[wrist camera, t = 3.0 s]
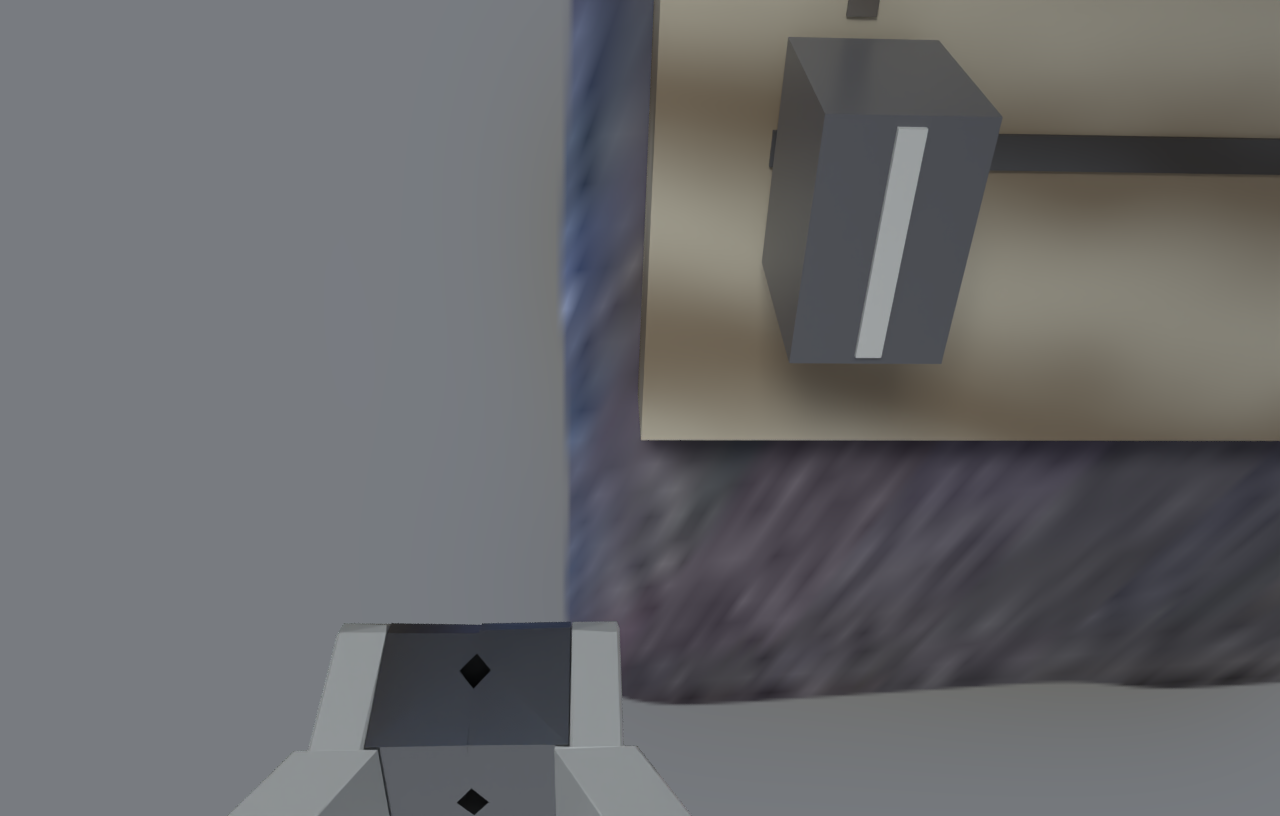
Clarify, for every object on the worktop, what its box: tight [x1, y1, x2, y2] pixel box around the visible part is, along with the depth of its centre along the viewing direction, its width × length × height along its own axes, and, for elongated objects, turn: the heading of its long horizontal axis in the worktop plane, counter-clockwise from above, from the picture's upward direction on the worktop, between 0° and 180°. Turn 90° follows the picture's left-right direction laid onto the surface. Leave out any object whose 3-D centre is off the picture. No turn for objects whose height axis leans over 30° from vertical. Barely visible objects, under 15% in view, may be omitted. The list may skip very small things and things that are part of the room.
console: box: [638, 0, 1280, 441], centre depth 24 cm, size 16×24×2 cm, turn 88°
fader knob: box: [762, 37, 1003, 364], centre depth 21 cm, size 5×3×4 cm, turn 178°
